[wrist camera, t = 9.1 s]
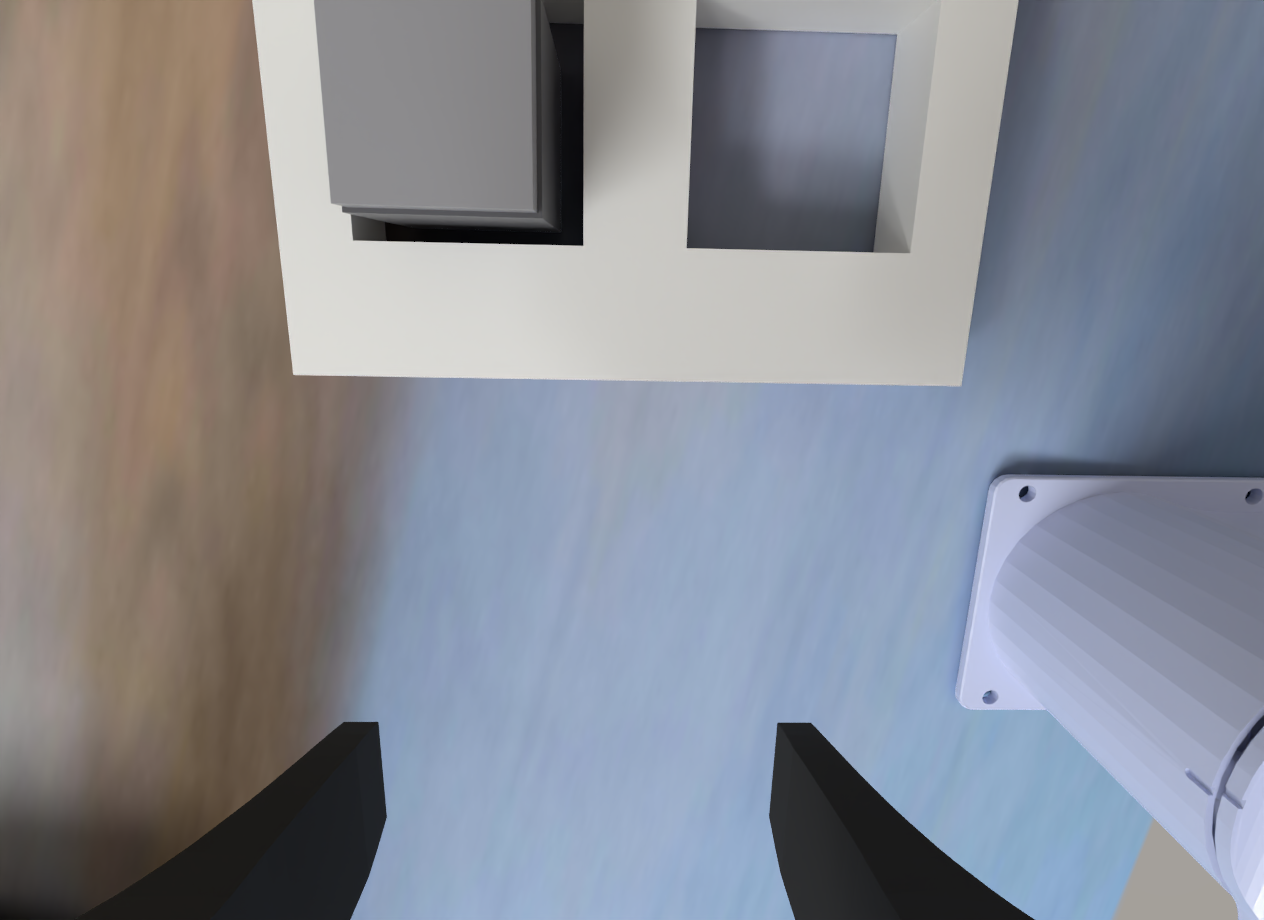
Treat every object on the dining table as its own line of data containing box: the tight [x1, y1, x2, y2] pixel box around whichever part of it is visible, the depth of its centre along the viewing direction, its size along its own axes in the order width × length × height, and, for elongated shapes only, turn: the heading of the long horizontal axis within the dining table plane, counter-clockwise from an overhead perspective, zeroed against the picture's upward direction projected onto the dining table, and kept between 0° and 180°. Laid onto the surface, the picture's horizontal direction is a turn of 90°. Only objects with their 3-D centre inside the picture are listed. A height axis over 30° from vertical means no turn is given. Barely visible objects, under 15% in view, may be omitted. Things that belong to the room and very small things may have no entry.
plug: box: [314, 0, 561, 233], centre depth 15 cm, size 4×4×6 cm
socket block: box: [252, 0, 1019, 386], centre depth 17 cm, size 17×12×3 cm
